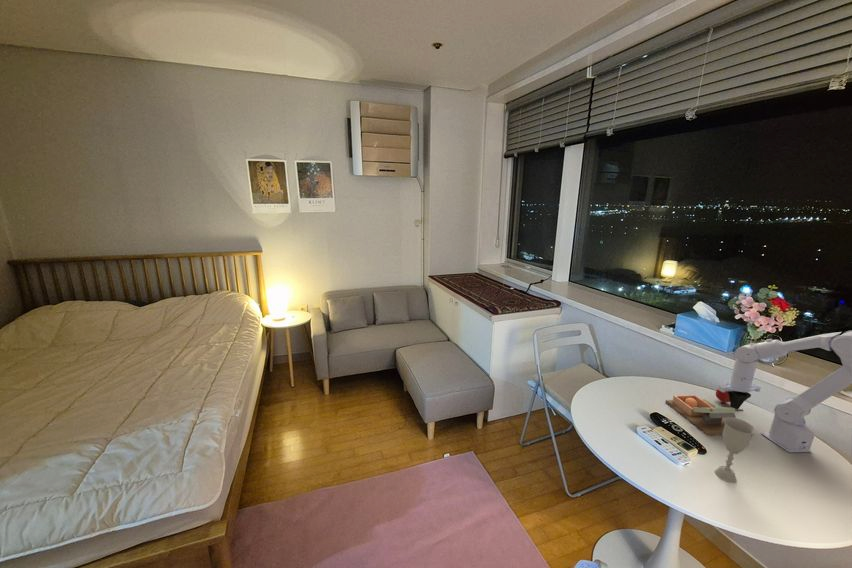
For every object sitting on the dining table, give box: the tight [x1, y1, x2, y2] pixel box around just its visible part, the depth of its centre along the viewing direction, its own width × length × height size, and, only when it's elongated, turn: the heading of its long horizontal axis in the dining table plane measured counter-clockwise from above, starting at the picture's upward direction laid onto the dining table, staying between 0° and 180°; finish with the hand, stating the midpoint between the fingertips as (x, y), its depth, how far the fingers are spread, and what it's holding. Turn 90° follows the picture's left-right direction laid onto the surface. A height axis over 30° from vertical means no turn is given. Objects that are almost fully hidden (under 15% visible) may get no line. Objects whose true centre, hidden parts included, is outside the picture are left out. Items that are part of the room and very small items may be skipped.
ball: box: [685, 398, 697, 408], centre depth 132 cm, size 4×4×4 cm
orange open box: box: [672, 394, 713, 416], centre depth 132 cm, size 9×9×3 cm
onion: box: [715, 388, 730, 404], centre depth 137 cm, size 6×6×8 cm
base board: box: [665, 398, 725, 436], centre depth 128 cm, size 20×17×5 cm
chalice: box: [714, 417, 756, 484], centre depth 99 cm, size 7×7×18 cm
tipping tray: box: [693, 406, 744, 418], centre depth 123 cm, size 10×18×3 cm
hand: (734, 407), depth 127 cm, fingers closed
